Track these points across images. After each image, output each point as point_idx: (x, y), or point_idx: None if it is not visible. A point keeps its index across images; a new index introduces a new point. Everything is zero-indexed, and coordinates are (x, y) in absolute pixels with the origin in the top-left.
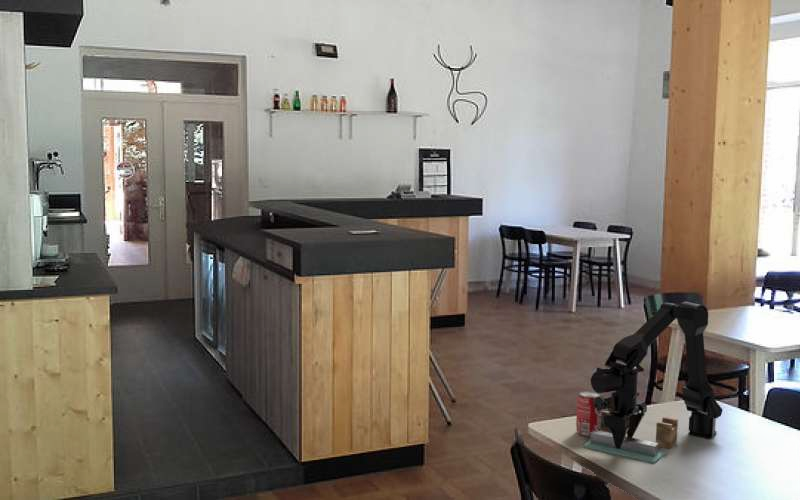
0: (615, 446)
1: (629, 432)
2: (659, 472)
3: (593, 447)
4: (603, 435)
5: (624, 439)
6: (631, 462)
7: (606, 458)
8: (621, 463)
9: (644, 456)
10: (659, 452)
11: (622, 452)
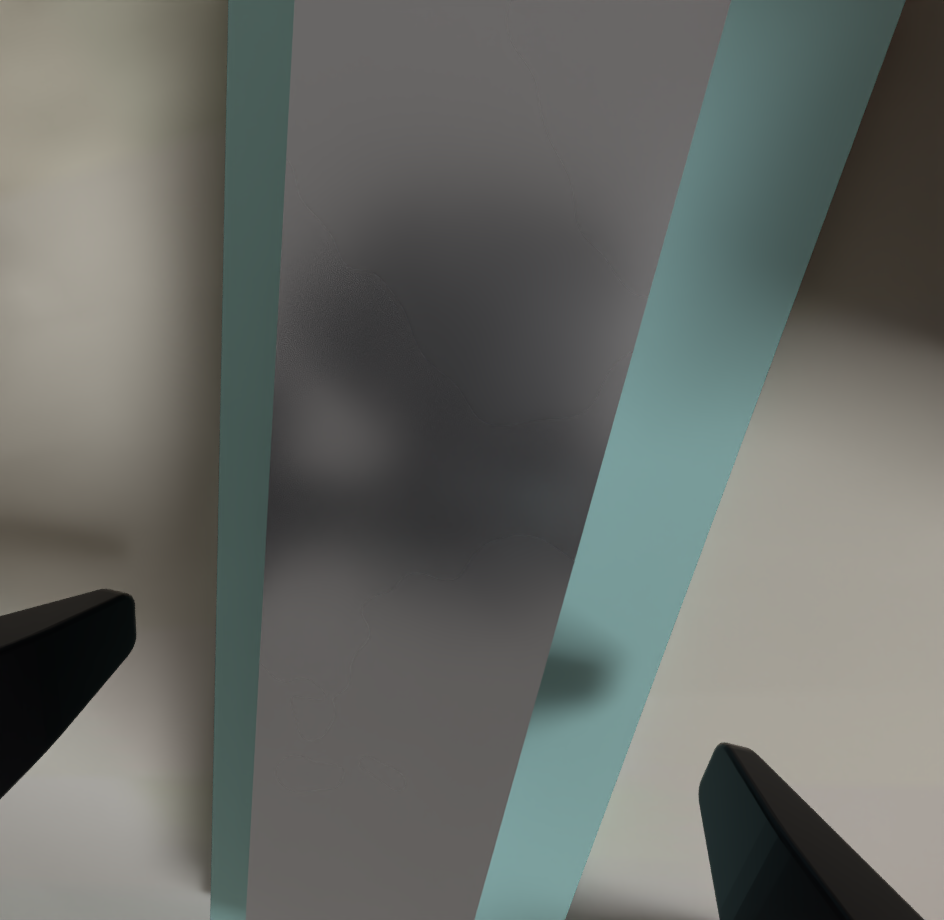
0: (74, 597)
1: (780, 918)
2: (45, 907)
3: (226, 141)
4: (286, 288)
5: (277, 795)
6: (106, 707)
7: (30, 434)
8: None
9: None
10: None
11: (256, 625)
